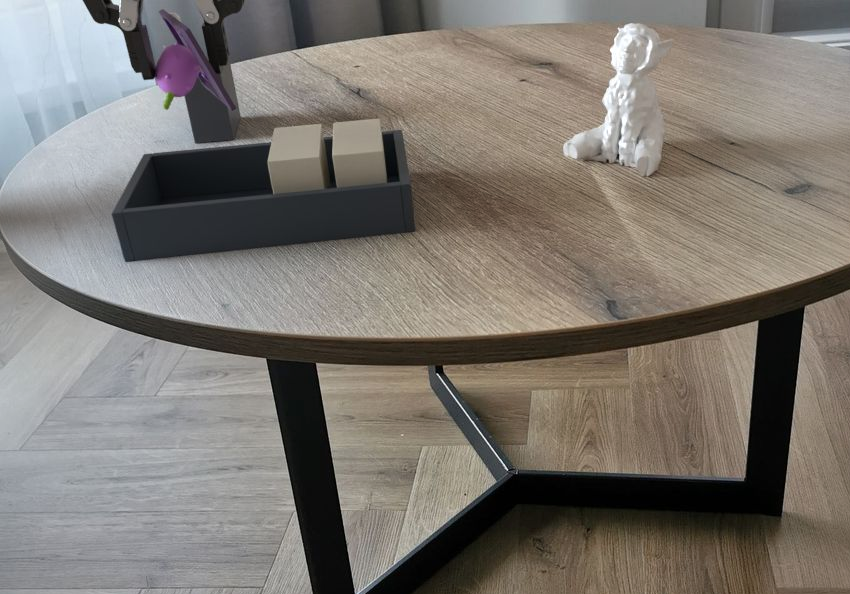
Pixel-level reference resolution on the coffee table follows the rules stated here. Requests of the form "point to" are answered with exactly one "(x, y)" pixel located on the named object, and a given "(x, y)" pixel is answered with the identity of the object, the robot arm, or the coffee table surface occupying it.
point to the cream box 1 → (298, 159)
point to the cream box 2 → (358, 153)
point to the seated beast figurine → (628, 106)
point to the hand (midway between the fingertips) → (184, 73)
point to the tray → (251, 203)
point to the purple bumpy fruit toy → (185, 65)
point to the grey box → (213, 110)
